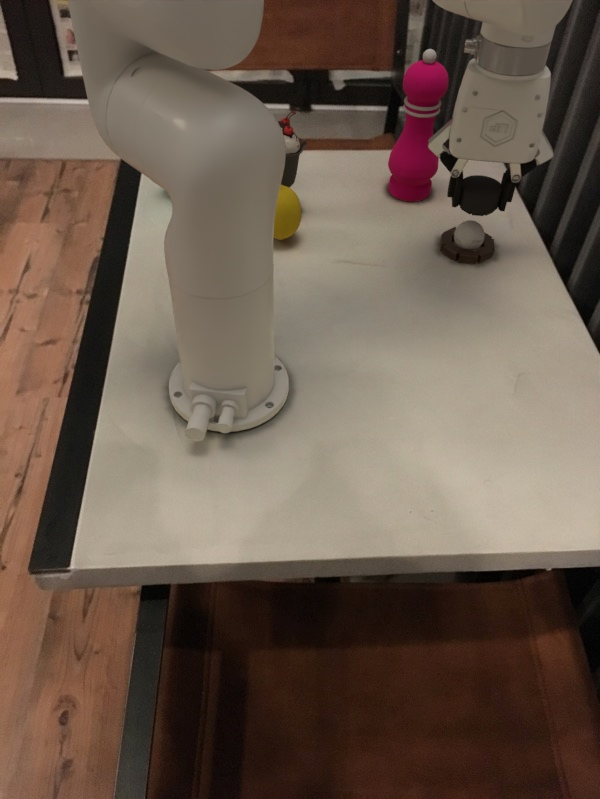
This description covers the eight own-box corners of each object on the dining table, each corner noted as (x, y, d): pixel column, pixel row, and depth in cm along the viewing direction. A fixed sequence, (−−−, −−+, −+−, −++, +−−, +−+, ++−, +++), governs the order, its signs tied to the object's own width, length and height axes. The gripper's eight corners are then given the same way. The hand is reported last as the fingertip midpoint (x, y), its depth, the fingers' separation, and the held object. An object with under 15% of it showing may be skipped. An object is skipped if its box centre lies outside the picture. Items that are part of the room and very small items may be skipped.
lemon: (296, 253, 90) (297, 199, 85) (255, 248, 91) (254, 193, 85) (304, 231, 94) (306, 177, 88) (265, 226, 95) (264, 172, 89)
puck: (498, 219, 86) (504, 197, 83) (456, 216, 86) (461, 194, 84) (496, 198, 89) (501, 177, 87) (455, 194, 90) (460, 173, 87)
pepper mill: (432, 180, 105) (457, 41, 90) (434, 205, 100) (460, 61, 85) (385, 177, 105) (402, 37, 91) (384, 201, 100) (402, 58, 86)
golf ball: (460, 237, 94) (466, 211, 91) (486, 247, 92) (493, 221, 89) (445, 249, 92) (451, 223, 89) (471, 260, 90) (478, 234, 87)
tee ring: (494, 266, 89) (496, 258, 89) (440, 261, 90) (441, 253, 89) (490, 236, 94) (492, 229, 93) (439, 232, 95) (441, 224, 94)
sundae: (304, 224, 95) (307, 118, 84) (255, 223, 95) (253, 116, 84) (304, 200, 100) (308, 96, 89) (258, 199, 100) (256, 94, 89)
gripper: (432, 61, 72) (409, 213, 85) (598, 72, 71) (549, 225, 84) (432, 36, 77) (411, 183, 91) (587, 46, 76) (542, 194, 89)
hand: (477, 202), depth 87 cm, fingers closed on puck, 5 cm apart
